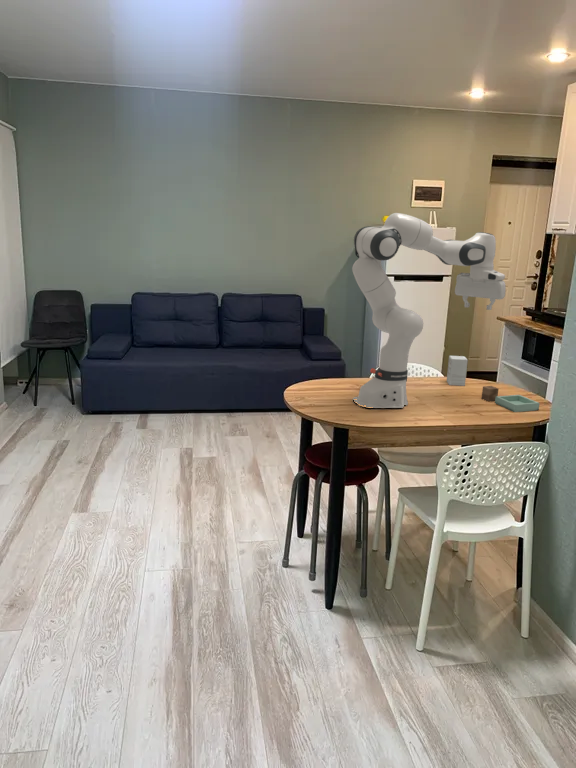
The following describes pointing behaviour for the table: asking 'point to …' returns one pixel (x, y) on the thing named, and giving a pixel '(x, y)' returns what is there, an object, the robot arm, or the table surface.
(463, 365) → the supplement box
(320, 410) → the table surface
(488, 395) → the walnut block
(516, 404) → the sage tray
